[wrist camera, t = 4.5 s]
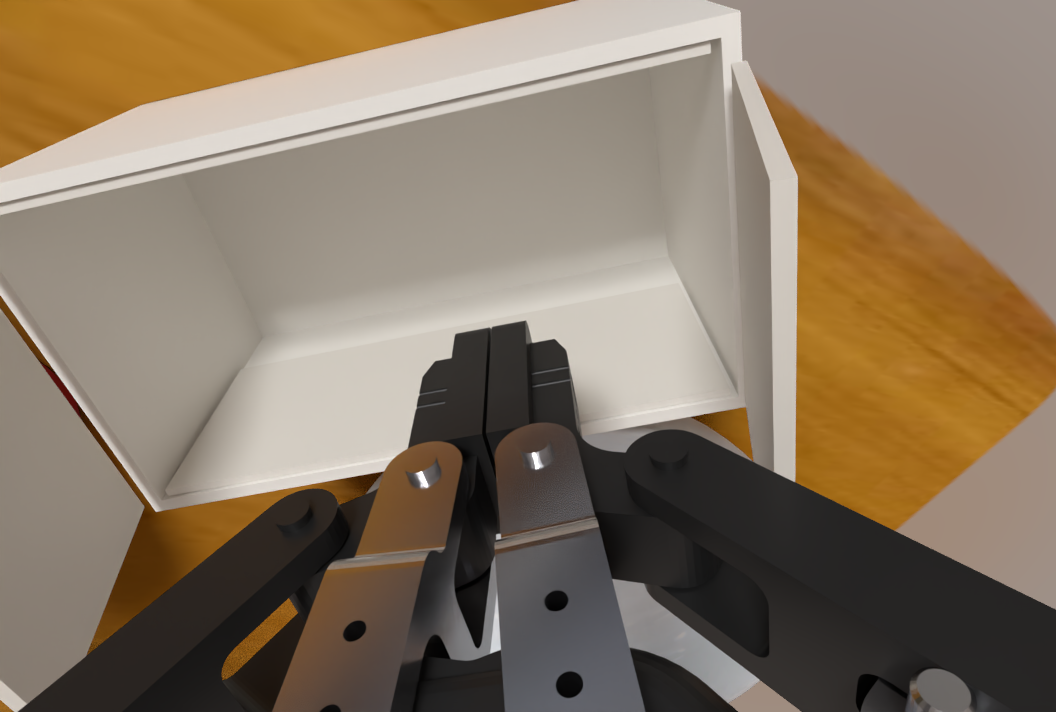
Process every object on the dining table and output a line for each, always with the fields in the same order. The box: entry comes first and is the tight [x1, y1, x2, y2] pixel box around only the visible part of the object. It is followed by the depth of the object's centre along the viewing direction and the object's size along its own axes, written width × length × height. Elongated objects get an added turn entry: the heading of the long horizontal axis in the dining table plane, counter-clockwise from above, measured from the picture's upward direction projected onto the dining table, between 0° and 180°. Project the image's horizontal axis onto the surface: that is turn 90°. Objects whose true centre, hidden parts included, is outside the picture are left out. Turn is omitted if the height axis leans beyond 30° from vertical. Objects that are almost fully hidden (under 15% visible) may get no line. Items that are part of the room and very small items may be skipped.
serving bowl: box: [366, 417, 760, 703], centre depth 31 cm, size 21×21×7 cm
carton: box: [0, 0, 746, 512], centre depth 21 cm, size 10×18×10 cm, turn 102°
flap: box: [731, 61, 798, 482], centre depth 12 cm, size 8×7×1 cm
